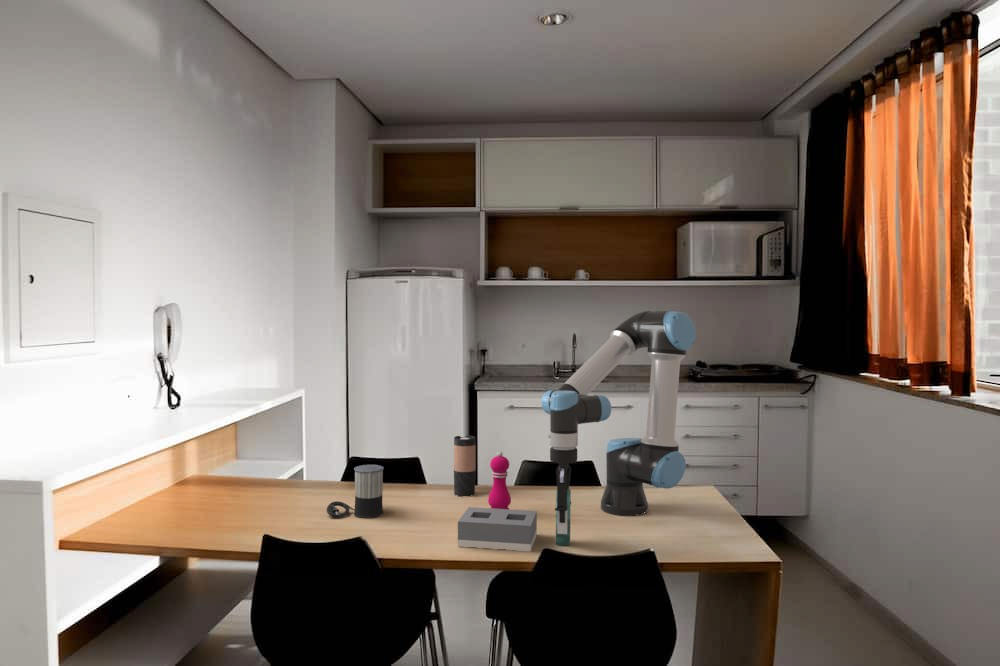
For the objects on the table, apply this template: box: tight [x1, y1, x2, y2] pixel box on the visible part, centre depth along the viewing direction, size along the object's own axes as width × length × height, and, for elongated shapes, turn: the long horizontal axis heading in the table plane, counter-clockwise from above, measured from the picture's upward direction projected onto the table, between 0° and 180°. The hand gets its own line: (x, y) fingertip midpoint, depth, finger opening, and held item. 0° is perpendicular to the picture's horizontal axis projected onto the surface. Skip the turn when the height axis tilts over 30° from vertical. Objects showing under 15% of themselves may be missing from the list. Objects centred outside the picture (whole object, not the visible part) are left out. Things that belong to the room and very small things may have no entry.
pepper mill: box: [487, 450, 512, 509], centre depth 221 cm, size 7×7×20 cm
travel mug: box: [453, 435, 477, 497], centre depth 244 cm, size 8×8×20 cm
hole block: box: [457, 506, 538, 553], centre depth 196 cm, size 20×14×7 cm
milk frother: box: [326, 464, 384, 519], centre depth 219 cm, size 14×16×15 cm
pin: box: [555, 488, 572, 547], centre depth 194 cm, size 4×4×15 cm
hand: (562, 530), depth 194 cm, fingers closed on pin, 4 cm apart
